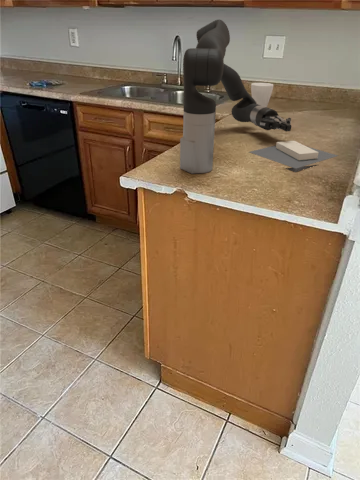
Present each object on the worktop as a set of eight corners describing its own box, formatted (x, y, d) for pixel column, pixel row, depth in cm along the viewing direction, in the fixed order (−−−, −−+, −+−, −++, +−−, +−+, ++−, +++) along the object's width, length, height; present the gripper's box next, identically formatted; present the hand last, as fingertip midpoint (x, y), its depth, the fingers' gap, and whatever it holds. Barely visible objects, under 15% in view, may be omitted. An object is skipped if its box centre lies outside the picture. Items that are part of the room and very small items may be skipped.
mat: (295, 172, 115) (295, 168, 115) (248, 155, 129) (248, 151, 129) (337, 159, 127) (338, 155, 126) (290, 144, 141) (290, 141, 140)
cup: (269, 116, 182) (273, 86, 175) (247, 115, 183) (250, 85, 177) (269, 111, 191) (273, 83, 184) (248, 110, 192) (251, 82, 186)
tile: (276, 142, 131) (299, 154, 120) (294, 140, 133) (318, 152, 122) (275, 148, 132) (298, 161, 121) (293, 146, 134) (317, 159, 123)
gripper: (249, 108, 139) (273, 118, 125) (280, 106, 143) (307, 115, 129) (247, 128, 143) (270, 140, 129) (277, 126, 147) (303, 138, 133)
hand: (289, 128), depth 129 cm, fingers closed
